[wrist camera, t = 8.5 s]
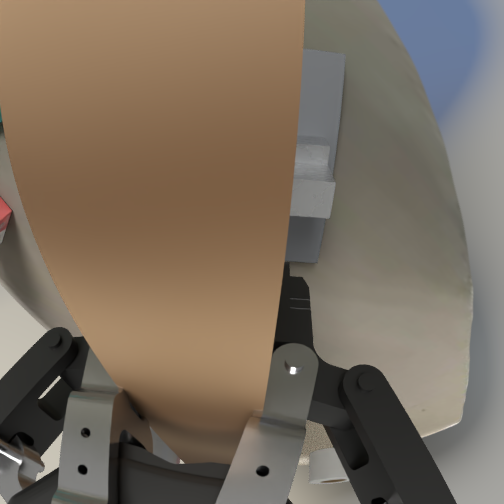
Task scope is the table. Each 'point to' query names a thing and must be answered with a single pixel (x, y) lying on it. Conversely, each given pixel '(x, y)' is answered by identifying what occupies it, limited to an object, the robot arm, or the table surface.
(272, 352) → the robot arm
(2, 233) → the ink cartridge box
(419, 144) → the table surface
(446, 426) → the table surface
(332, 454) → the roll of tape
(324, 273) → the table surface
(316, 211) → the ridge stand
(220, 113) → the batten
